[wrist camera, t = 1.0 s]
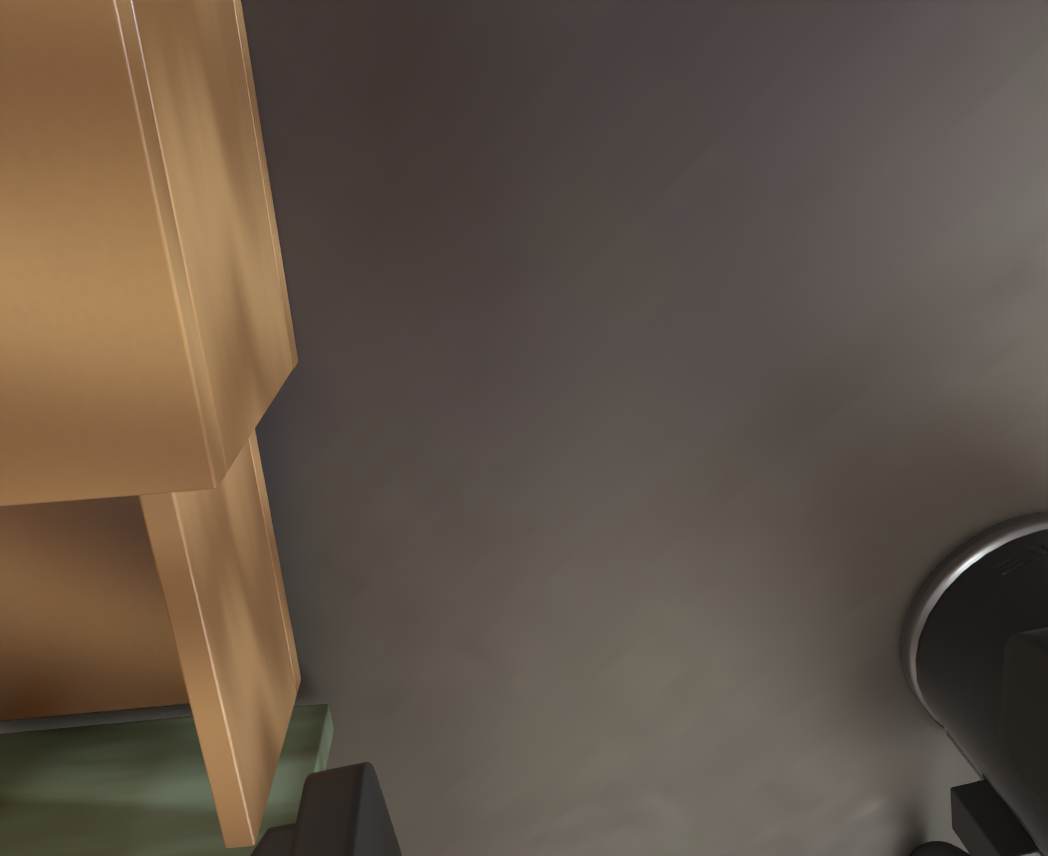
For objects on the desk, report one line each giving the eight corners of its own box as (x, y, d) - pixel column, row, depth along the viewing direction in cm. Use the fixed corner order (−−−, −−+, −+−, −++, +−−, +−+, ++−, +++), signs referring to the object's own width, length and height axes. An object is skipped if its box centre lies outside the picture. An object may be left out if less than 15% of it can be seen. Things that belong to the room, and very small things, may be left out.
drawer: (339, 756, 30) (303, 950, 23) (-48, 793, 29) (-203, 1004, 22) (253, 259, 23) (167, 322, 16) (-247, 292, 22) (-553, 371, 16)
